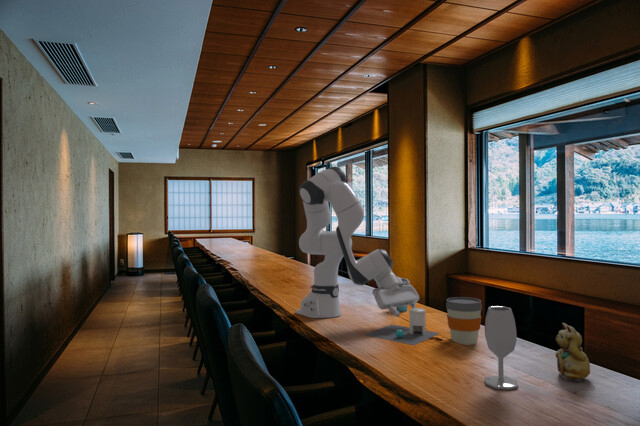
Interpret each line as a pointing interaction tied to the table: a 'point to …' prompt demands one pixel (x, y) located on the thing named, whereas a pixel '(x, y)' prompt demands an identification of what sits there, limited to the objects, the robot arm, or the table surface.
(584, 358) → the decorative figurine
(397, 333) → the teal marble
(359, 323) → the table surface
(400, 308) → the cup
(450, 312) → the reusable coffee cup
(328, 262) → the robot arm
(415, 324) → the cream tumbler
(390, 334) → the charcoal mat
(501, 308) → the wineglass
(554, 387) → the table surface
